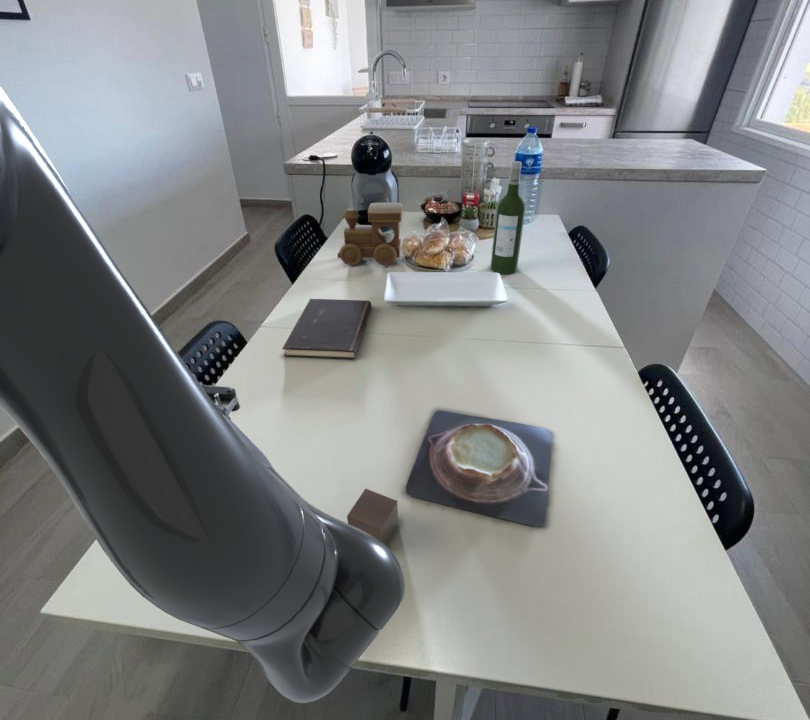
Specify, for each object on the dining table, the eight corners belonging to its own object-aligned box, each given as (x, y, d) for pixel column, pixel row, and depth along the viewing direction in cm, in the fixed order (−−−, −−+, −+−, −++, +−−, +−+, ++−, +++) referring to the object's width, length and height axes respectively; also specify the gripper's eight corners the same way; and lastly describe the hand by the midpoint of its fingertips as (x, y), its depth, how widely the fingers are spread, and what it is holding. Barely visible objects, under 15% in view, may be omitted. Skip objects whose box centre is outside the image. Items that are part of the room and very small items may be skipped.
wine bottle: (515, 263, 137) (529, 158, 120) (518, 274, 131) (534, 165, 113) (489, 263, 138) (500, 158, 120) (491, 274, 131) (502, 165, 114)
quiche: (551, 431, 78) (555, 414, 76) (544, 530, 62) (549, 512, 60) (435, 409, 83) (436, 392, 81) (402, 495, 68) (402, 477, 65)
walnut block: (381, 552, 60) (380, 530, 57) (350, 538, 62) (346, 516, 59) (398, 522, 64) (397, 500, 61) (367, 510, 66) (365, 488, 63)
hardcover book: (284, 356, 98) (282, 347, 97) (311, 306, 117) (310, 298, 116) (355, 359, 97) (354, 350, 96) (371, 308, 116) (371, 300, 114)
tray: (507, 312, 113) (508, 299, 111) (383, 311, 114) (382, 299, 112) (498, 283, 126) (499, 271, 124) (387, 282, 128) (387, 271, 126)
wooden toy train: (404, 253, 146) (403, 201, 136) (402, 267, 136) (401, 212, 127) (343, 253, 146) (337, 201, 137) (337, 267, 137) (331, 213, 127)
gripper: (276, 405, 41) (196, 335, 51) (123, 487, 34) (65, 386, 44) (289, 460, 46) (213, 386, 56) (156, 544, 38) (96, 440, 48)
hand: (148, 386), depth 50 cm, fingers closed
